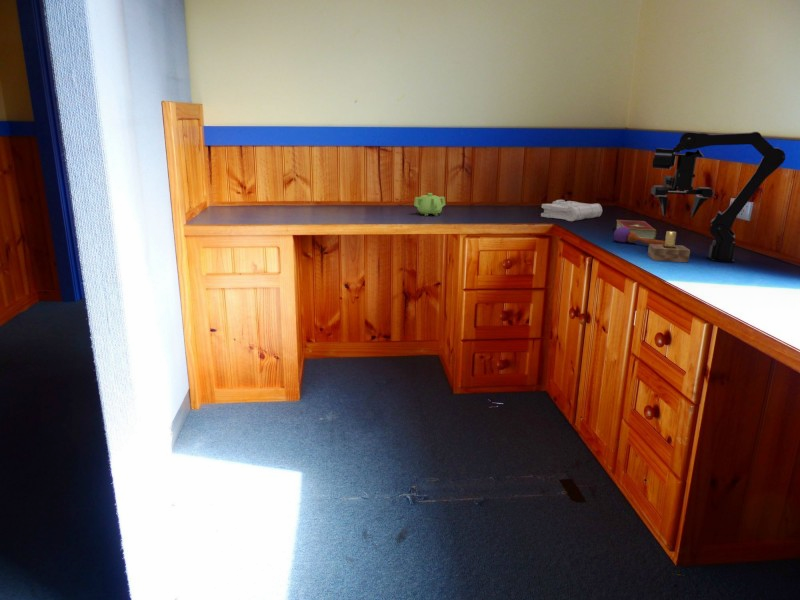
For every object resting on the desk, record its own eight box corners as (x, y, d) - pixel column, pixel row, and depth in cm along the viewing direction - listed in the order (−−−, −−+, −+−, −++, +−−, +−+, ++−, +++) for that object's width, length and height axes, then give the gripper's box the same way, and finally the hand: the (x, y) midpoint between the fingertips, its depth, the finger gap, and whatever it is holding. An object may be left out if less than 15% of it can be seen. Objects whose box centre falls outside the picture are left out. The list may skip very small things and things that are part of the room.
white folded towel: (607, 217, 292) (609, 201, 290) (574, 222, 274) (575, 205, 272) (572, 212, 306) (574, 196, 304) (538, 217, 288) (539, 201, 286)
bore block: (681, 257, 210) (683, 245, 209) (688, 262, 203) (690, 250, 202) (647, 255, 212) (649, 243, 211) (653, 260, 204) (655, 248, 203)
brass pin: (671, 254, 208) (674, 231, 206) (674, 256, 205) (677, 232, 203) (662, 254, 209) (665, 230, 206) (664, 256, 206) (667, 232, 203)
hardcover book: (644, 230, 261) (646, 220, 260) (655, 240, 241) (657, 229, 240) (615, 229, 263) (616, 219, 262) (623, 238, 243) (624, 227, 242)
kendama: (663, 240, 218) (611, 227, 231) (660, 256, 221) (610, 242, 234) (671, 235, 222) (620, 223, 235) (668, 251, 224) (618, 237, 238)
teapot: (445, 214, 286) (446, 192, 283) (436, 217, 276) (437, 195, 273) (422, 212, 291) (423, 191, 288) (412, 215, 281) (413, 193, 278)
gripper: (705, 169, 213) (698, 214, 218) (649, 167, 215) (643, 212, 220) (717, 172, 203) (709, 219, 207) (658, 170, 205) (652, 217, 209)
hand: (677, 216), depth 211 cm, fingers open, 9 cm apart
